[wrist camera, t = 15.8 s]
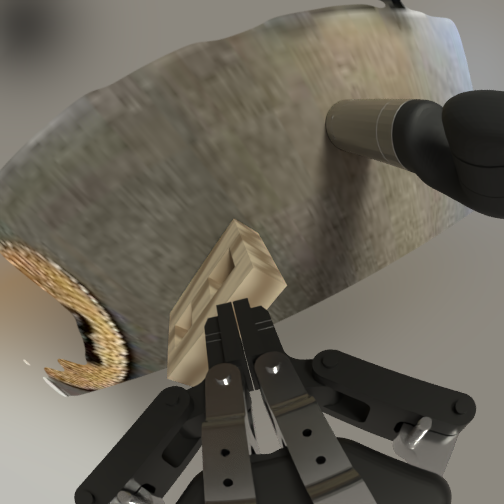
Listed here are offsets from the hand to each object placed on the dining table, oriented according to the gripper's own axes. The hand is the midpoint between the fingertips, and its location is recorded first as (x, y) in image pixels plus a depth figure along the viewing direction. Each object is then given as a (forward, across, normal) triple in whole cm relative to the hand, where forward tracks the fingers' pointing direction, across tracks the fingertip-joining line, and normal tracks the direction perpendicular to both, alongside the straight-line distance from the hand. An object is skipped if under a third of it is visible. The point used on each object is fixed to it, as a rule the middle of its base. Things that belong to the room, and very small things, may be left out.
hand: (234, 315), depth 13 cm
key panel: (+32, +3, +17) cm, 36 cm away
